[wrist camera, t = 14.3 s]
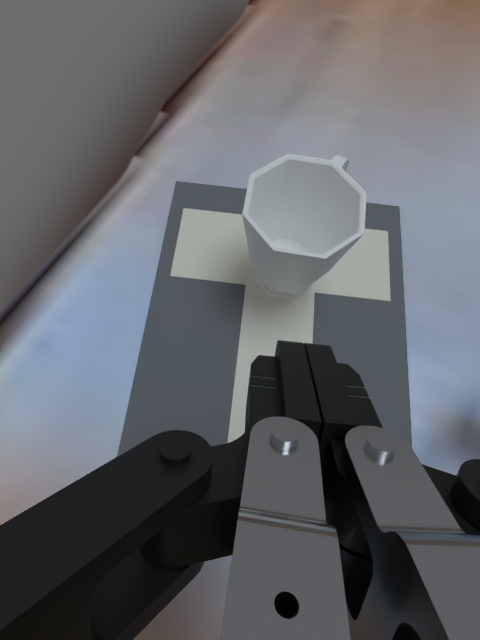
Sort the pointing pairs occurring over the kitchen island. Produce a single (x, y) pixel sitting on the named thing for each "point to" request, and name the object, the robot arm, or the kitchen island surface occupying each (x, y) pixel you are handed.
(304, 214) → the cup
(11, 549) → the robot arm
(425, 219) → the kitchen island surface
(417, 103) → the kitchen island surface
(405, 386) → the t mat
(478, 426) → the kitchen island surface
